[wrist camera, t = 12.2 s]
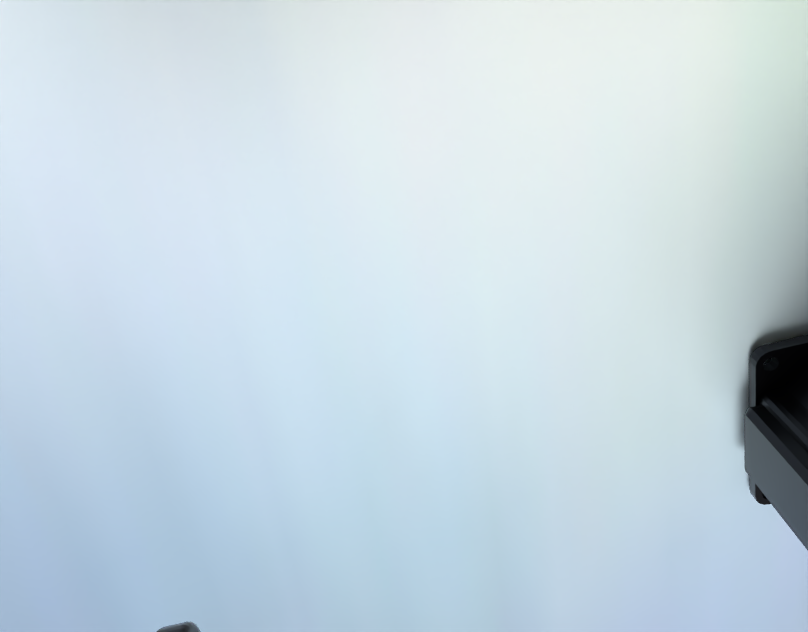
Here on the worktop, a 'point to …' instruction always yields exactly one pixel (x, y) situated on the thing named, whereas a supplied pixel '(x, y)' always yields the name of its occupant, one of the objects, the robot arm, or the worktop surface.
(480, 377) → the worktop surface
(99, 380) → the worktop surface
